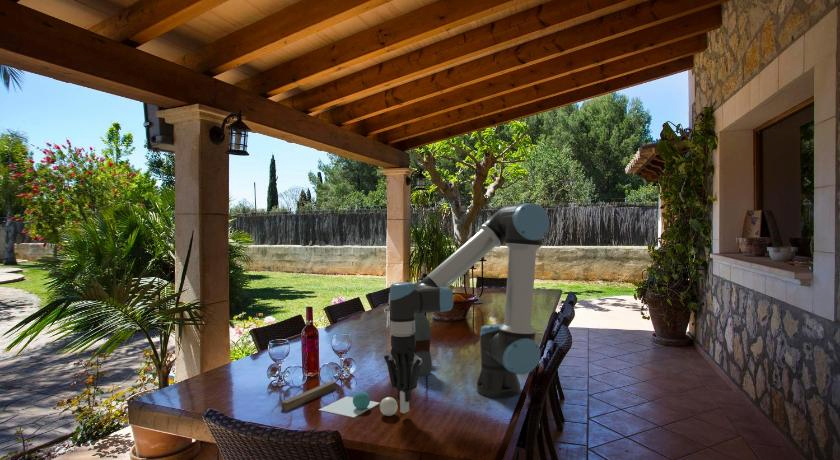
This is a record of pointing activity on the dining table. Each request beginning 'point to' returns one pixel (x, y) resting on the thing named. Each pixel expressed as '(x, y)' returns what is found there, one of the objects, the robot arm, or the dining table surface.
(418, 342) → the bottle
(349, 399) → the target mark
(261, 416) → the dining table surface
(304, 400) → the bar
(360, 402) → the teal ball
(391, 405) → the cue ball
